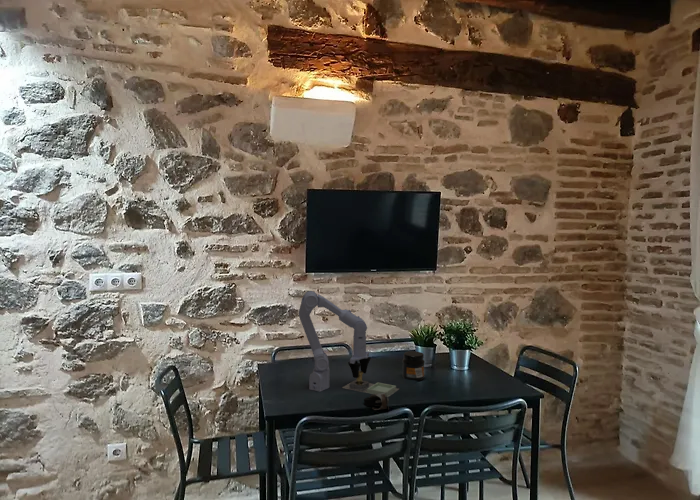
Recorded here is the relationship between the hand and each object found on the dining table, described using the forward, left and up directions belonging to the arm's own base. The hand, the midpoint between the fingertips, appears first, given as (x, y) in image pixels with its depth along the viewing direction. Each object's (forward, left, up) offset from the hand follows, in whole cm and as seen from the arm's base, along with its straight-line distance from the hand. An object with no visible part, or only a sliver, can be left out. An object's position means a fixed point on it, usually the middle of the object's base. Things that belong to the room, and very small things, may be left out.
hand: (359, 375), depth 230 cm
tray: (-1, -11, -6) cm, 13 cm away
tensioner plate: (-1, -6, -6) cm, 8 cm away
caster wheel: (-18, -17, -6) cm, 25 cm away
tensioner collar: (0, 0, -6) cm, 6 cm away
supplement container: (+25, -16, -6) cm, 30 cm away
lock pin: (0, 0, -5) cm, 5 cm away
